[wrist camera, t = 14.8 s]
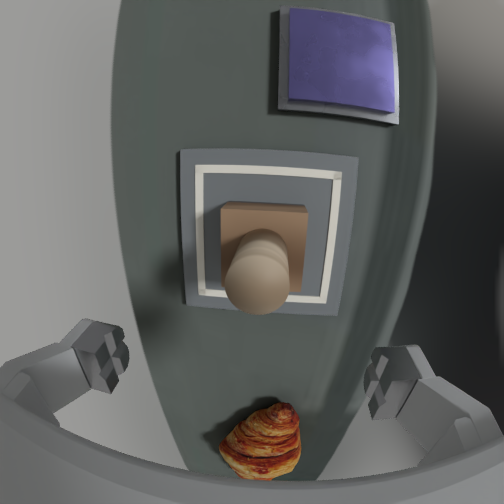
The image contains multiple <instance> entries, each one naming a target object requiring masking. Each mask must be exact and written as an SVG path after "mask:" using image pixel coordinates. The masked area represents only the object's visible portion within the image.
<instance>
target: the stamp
mask: <svg viewBox="0 0 504 504" xmlns="http://www.w3.org/2000/svg"><path fill="white" fill-rule="evenodd" d="M307 224H308V211H307V209H306V207H305V205H302V204H287V203H269V202H247V201H228V202H227V203H226V204H225V205H224V206H223V207H222V208H221V287H225V292H226V294H227V297H228V299H229V300H230V301H231V303H232V304H233V305H234V306H235V307H237V308H238V309H239V310H241V311H243V312H246V313H249V314H254V315H262V314H268V313H271V312H273V311H275V310H277V309H278V308H279V307H281V306H282V305H283V303H284V302H285V301H286V299H287V297H288V294H289V292H301V286H302V277H303V267H304V257H305V247H306V236H307Z"/></svg>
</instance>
